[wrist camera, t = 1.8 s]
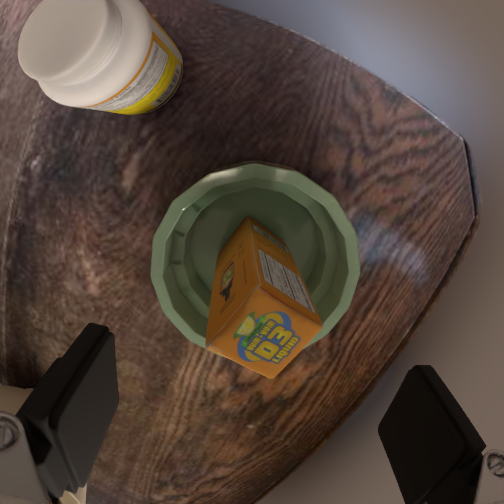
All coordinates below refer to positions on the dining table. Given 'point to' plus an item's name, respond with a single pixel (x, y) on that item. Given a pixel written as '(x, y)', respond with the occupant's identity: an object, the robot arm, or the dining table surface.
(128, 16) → the supplement bottle
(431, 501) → the robot arm
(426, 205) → the dining table surface
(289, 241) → the green bowl
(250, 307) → the supplement box
